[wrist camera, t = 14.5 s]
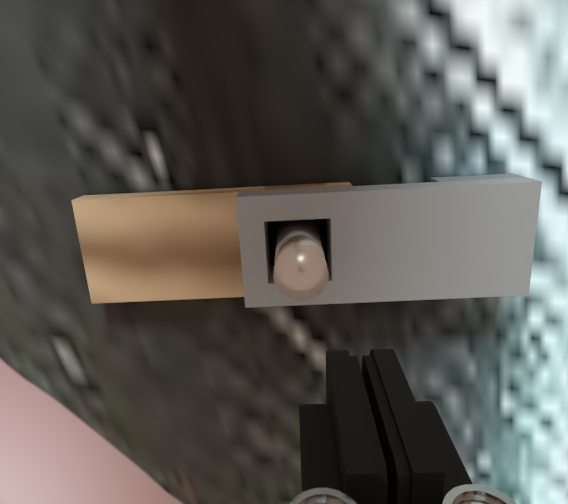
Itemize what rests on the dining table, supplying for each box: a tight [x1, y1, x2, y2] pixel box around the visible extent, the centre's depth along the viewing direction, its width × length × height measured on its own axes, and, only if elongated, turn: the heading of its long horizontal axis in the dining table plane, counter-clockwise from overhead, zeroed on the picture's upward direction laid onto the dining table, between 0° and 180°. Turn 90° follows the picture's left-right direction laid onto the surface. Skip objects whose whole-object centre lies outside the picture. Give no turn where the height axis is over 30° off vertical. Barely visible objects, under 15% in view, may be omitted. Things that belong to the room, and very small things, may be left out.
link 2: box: [236, 173, 542, 308], centre depth 33 cm, size 8×20×4 cm, turn 93°
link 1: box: [72, 182, 352, 304], centre depth 34 cm, size 8×20×2 cm, turn 93°
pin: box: [273, 219, 329, 301], centre depth 30 cm, size 3×3×9 cm
